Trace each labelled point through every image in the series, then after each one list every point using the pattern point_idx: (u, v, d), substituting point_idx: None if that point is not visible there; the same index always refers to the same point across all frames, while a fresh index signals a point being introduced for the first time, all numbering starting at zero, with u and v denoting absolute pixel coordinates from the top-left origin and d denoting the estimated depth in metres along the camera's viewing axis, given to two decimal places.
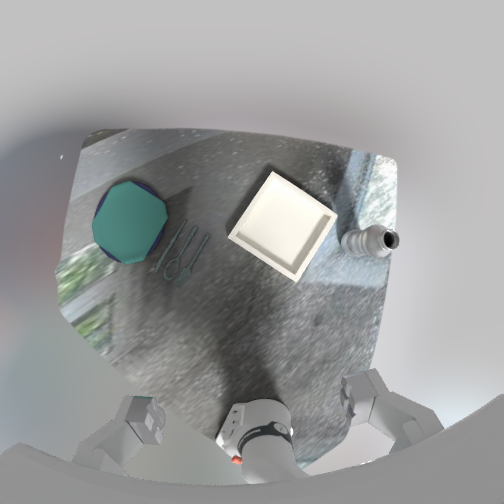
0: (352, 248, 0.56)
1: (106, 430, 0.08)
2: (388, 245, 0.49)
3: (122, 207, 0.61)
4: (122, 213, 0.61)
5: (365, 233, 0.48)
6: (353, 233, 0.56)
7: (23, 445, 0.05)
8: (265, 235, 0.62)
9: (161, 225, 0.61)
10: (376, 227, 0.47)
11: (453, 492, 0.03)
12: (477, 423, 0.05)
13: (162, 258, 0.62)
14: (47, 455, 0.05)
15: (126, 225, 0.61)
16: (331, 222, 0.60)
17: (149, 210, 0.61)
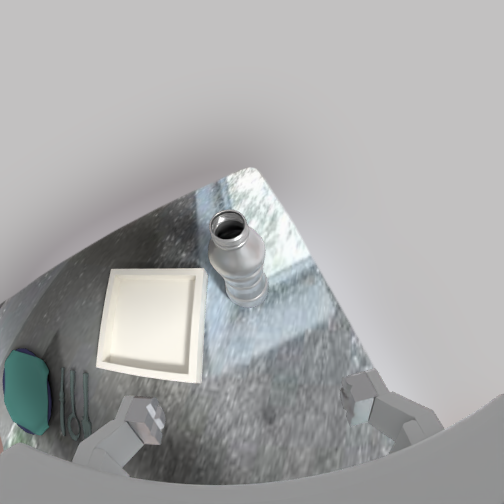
0: (234, 292, 0.37)
1: (106, 430, 0.08)
2: None
3: (17, 378, 0.37)
4: (19, 384, 0.37)
5: (208, 253, 0.31)
6: None
7: (23, 445, 0.05)
8: (137, 344, 0.40)
9: (45, 383, 0.36)
10: None
11: (453, 492, 0.03)
12: (477, 423, 0.05)
13: (62, 418, 0.34)
14: (47, 455, 0.05)
15: (25, 395, 0.35)
16: (199, 281, 0.42)
17: (34, 372, 0.38)
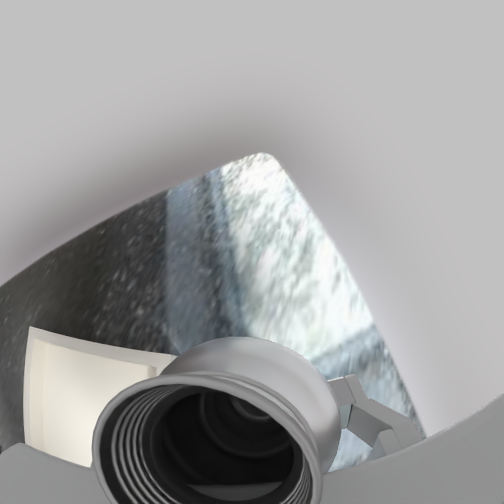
0: None
1: None
2: None
3: None
4: None
5: None
6: (211, 393, 0.15)
7: (23, 445, 0.05)
8: (77, 453, 0.17)
9: None
10: None
11: (453, 492, 0.03)
12: (477, 423, 0.05)
13: None
14: (47, 455, 0.05)
15: None
16: None
17: None
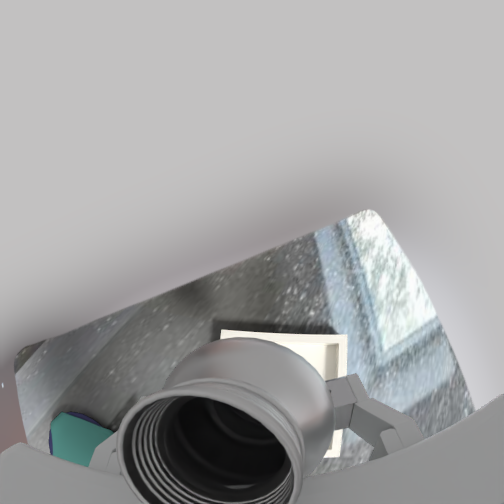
0: None
1: None
2: None
3: (72, 444, 0.31)
4: (74, 451, 0.30)
5: None
6: None
7: (23, 445, 0.05)
8: None
9: None
10: (173, 377, 0.08)
11: (453, 492, 0.03)
12: (477, 423, 0.05)
13: None
14: (47, 455, 0.05)
15: (86, 464, 0.29)
16: (343, 350, 0.34)
17: (99, 442, 0.32)
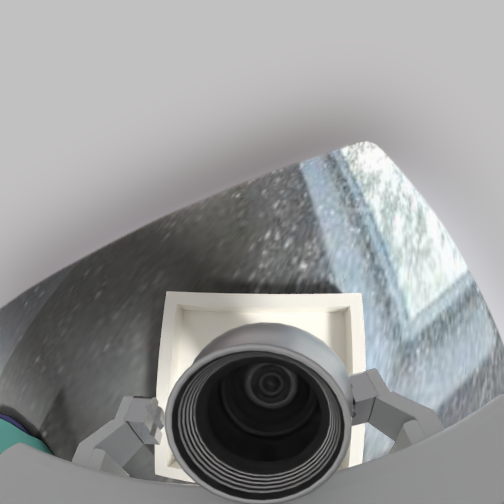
0: (248, 420, 0.15)
1: (106, 430, 0.08)
2: None
3: None
4: None
5: None
6: None
7: (23, 445, 0.05)
8: None
9: None
10: None
11: (453, 492, 0.03)
12: (477, 423, 0.05)
13: None
14: (47, 455, 0.05)
15: None
16: (358, 317, 0.22)
17: None
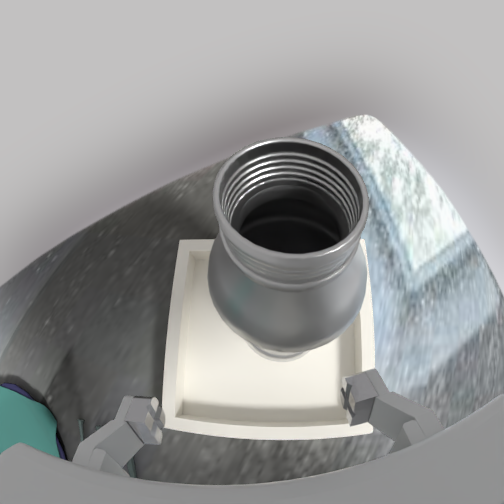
0: None
1: (106, 430, 0.08)
2: None
3: (10, 427, 0.19)
4: (13, 436, 0.19)
5: (208, 276, 0.11)
6: None
7: (23, 445, 0.05)
8: (243, 380, 0.22)
9: (54, 443, 0.19)
10: None
11: (453, 492, 0.03)
12: (477, 423, 0.05)
13: None
14: (47, 455, 0.05)
15: None
16: None
17: (33, 422, 0.20)
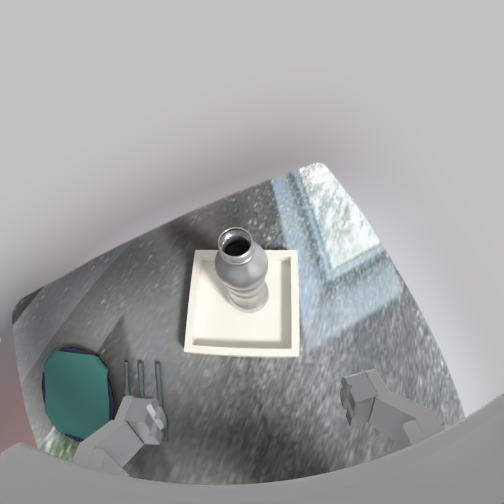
0: (236, 299, 0.39)
1: (106, 430, 0.08)
2: None
3: (63, 382, 0.40)
4: (65, 388, 0.39)
5: (214, 264, 0.33)
6: None
7: (23, 445, 0.05)
8: (229, 325, 0.44)
9: (105, 381, 0.39)
10: None
11: (453, 492, 0.03)
12: (477, 423, 0.05)
13: None
14: (47, 455, 0.05)
15: (75, 399, 0.38)
16: (294, 262, 0.46)
17: (87, 372, 0.41)
